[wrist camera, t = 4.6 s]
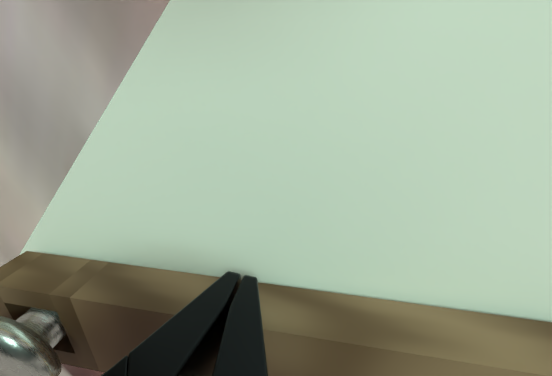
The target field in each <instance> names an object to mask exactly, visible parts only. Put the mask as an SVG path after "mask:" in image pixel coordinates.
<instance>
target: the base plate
mask: <svg viewBox="0 0 552 376" xmlns="http://www.w3.org/2000/svg"><path fill="white" fill-rule="evenodd" d="M26 251H32V252H39V253H46V254H54V255H61V256H68V257H76V258H83V259H90V260H98V261H105V262H112V263H120V264H127V265H134V266H142V267H149V268H157V269H164V270H171V271H179V272H186V273H193V274H201V275H208V276H215V277H221V276H222V275H224V274H225V273H226V272H228V271H231V272H236V273H239V274H240V275H241V280H242V278H243V276H244V275H249V276H254V277H256V278H257V280H258V282H259V283H267V284H274V285H281V286H289V287H296V288H303V289H311V290H318V291H325V292H333V293H340V294H347V295H355V296H362V297H369V298H377V299H384V300H391V301H399V302H406V303H413V304H421V305H428V306H435V307H443V308H450V309H457V310H465V311H472V312H479V313H487V314H494V315H501V316H509V317H516V318H523V319H531V320H538V321H545V322H552V0H170V1H169V3H168V5H167V6H166V8H165V10H164V12H163V13H162V15H161V17H160V18H159V20H158V22H157V23H156V25H155V27H154V28H153V30H152V32H151V33H150V35H149V37H148V39H147V40H146V42H145V44H144V45H143V47H142V49H141V50H140V52H139V54H138V55H137V57H136V59H135V61H134V62H133V64H132V66H131V67H130V69H129V71H128V72H127V74H126V76H125V77H124V79H123V81H122V83H121V84H120V86H119V88H118V89H117V91H116V93H115V94H114V96H113V98H112V99H111V101H110V103H109V104H108V106H107V108H106V110H105V111H104V113H103V115H102V116H101V118H100V120H99V121H98V123H97V125H96V126H95V128H94V130H93V132H92V133H91V135H90V137H89V138H88V140H87V142H86V143H85V145H84V147H83V148H82V150H81V152H80V154H79V155H78V157H77V159H76V160H75V162H74V164H73V165H72V167H71V169H70V170H69V172H68V174H67V176H66V177H65V179H64V181H63V182H62V184H61V186H60V187H59V189H58V191H57V192H56V194H55V196H54V197H53V199H52V201H51V203H50V204H49V206H48V208H47V209H46V211H45V213H44V214H43V216H42V218H41V219H40V221H39V223H38V225H37V226H36V228H35V230H34V231H33V233H32V235H31V236H30V238H29V240H28V241H27V243H26V245H25V247H24V248H23V250H22V252H21V253H20V255H21V254H22V253H24V252H26ZM65 335H66V331H65V329H64V327H63V325H62V323H61V320H60V318H59V316H58V314H57V312H55V311H50V310H44V309H38V308H33V307H32V308H30V309H29V310H28V311H27V312H25V313H24V314H23V315H22V316H21V317H19V318H18V319H17V320H16V321H15V320H12V319H10V318H7V317H3V316H0V376H58V375H59V374H60V372H61V362H60V359H59V357H58V355H57V354H56V352H55V351H54V349H53V347H54V346H55V345H56V344H57V343H58V342H59V341H60V340H61V339H62V338H63V337H64V336H65Z"/></svg>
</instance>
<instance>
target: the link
mask: <svg viewBox="0 0 552 376" xmlns="http://www.w3.org/2000/svg"><path fill="white" fill-rule="evenodd" d="M219 278H220V277H215V276H208V275H201V274H193V273H186V272H179V271H171V270H164V269H157V268H149V267H142V266H134V265H127V264H120V263H112V262H105V261H98V260H90V259H83V258H76V257H68V256H61V255H54V254H46V253H39V252H32V251H26V252H24V253H22V254H21V255H19V256H18V257H16V258H14V259H13V260H11V261H9V262H8V263H6V264H5V265H3V266H1V267H0V316H3V317H7V318H10V319H12V320H15V321H16V320H17V319H18V318H19V317H21V316H22V315H23V314H24V313H25V312H27V311H28V310H29V309H30V308H32V307H33V308H38V309H44V310H50V311H55V312H57V314H58V316H59V318H60V320H61V323H62V325H63V327H64V329H65V331H66V335H65V336H64V337H63V338H62V339H61V340H60V341H59V342H58V343H57V344H56V345H55V346H54V347H53V349H54V351H55V352H56V354H57V355H58V357H59V359H60V362H61V363H63V364H67V365H72V366H77V367H82V368H87V369H91V370H96V371H101V372H106V371H108V370H109V369H110V368H111V367H113V366H114V365H115V364H116V363H117V362H119V361H120V360H121V359H122V358H123V357H125V356H128V355H129V353H130V352H131V351H132V350H133V349H135V348H136V347H137V346H138V345H139V344H141V343H142V342H143V341H144V340H145V339H147V338H148V337H149V336H150V335H151V334H153V333H154V332H155V331H156V330H157V329H159V328H160V327H161V326H162V325H163V324H165V323H166V322H167V321H168V320H169V319H171V318H172V317H173V316H174V315H176V314H177V313H178V312H179V311H180V310H182V309H183V308H184V307H185V306H186V305H188V304H189V303H190V302H191V301H192V300H194V299H195V298H196V297H197V296H198V295H200V294H201V293H202V292H203V291H204V290H206V289H207V288H208V287H209V286H210V285H212V284H213V283H214V282H215V281H216V280H218V279H219ZM258 289H259V298H260V307H261V316H262V325H263V334H264V343H265V352H266V361H267V370H268V376H552V322H545V321H538V320H531V319H523V318H516V317H509V316H501V315H494V314H487V313H479V312H472V311H465V310H457V309H450V308H443V307H435V306H428V305H421V304H413V303H406V302H399V301H391V300H384V299H377V298H369V297H362V296H355V295H347V294H340V293H333V292H325V291H318V290H311V289H303V288H296V287H289V286H281V285H274V284H267V283H259V282H258Z"/></svg>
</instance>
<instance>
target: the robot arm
mask: <svg viewBox="0 0 552 376" xmlns="http://www.w3.org/2000/svg"><path fill="white" fill-rule="evenodd" d="M101 376H268V370H267V361H266V352H265V343H264V334H263V325H262V316H261V307H260V298H259V289H258V280H257V278H256V277H254V276H249V275H244V276H243V278H242V280H241V275H240V274H239V273H236V272H231V271H228V272H226V273H225V274H224V275H222V276H221V277H220V278H219V279H218V280H216V281H215V282H214V283H213V284H212V285H210V286H209V287H208V288H207V289H206V290H204V291H203V292H202V293H201V294H200V295H198V296H197V297H196V298H195V299H194V300H192V301H191V302H190V303H189V304H188V305H186V306H185V307H184V308H183V309H182V310H180V311H179V312H178V313H177V314H176V315H174V316H173V317H172V318H171V319H169V320H168V321H167V322H166V323H165V324H163V325H162V326H161V327H160V328H159V329H157V330H156V331H155V332H154V333H153V334H151V335H150V336H149V337H148V338H147V339H145V340H144V341H143V342H142V343H141V344H139V345H138V346H137V347H136V348H135V349H133V350H132V351H131V352H130V353H129V355H128V356H125V357H123V358H122V359H121V360H120V361H119V362H117V363H116V364H115V365H114V366H113V367H111V368H110V369H109V370H108V371H106V372H105V373H104V374H103V375H101Z"/></svg>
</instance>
